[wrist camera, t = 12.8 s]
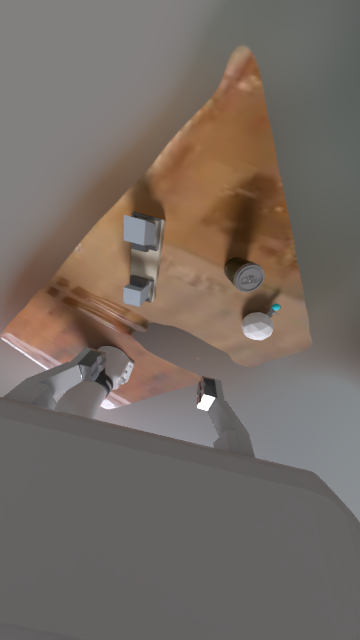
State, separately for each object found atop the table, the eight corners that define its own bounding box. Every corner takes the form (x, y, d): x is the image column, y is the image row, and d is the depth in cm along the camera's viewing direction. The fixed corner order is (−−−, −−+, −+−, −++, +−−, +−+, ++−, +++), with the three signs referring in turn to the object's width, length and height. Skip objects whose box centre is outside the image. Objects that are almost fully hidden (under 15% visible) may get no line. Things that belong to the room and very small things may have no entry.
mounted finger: (148, 296, 39) (139, 306, 33) (135, 293, 39) (123, 302, 33) (150, 278, 36) (140, 285, 30) (135, 274, 36) (123, 280, 30)
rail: (155, 298, 42) (152, 302, 39) (133, 293, 42) (128, 296, 39) (165, 221, 32) (162, 219, 29) (136, 213, 32) (130, 211, 29)
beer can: (225, 281, 37) (236, 296, 27) (222, 261, 35) (232, 269, 24) (246, 275, 36) (266, 288, 25) (244, 253, 33) (265, 259, 23)
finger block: (153, 251, 33) (143, 253, 27) (137, 247, 33) (123, 248, 27) (155, 224, 30) (145, 220, 24) (138, 220, 30) (123, 214, 24)
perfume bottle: (230, 326, 40) (261, 291, 35) (242, 329, 45) (269, 300, 41) (252, 345, 35) (290, 308, 30) (261, 346, 40) (295, 315, 36)
